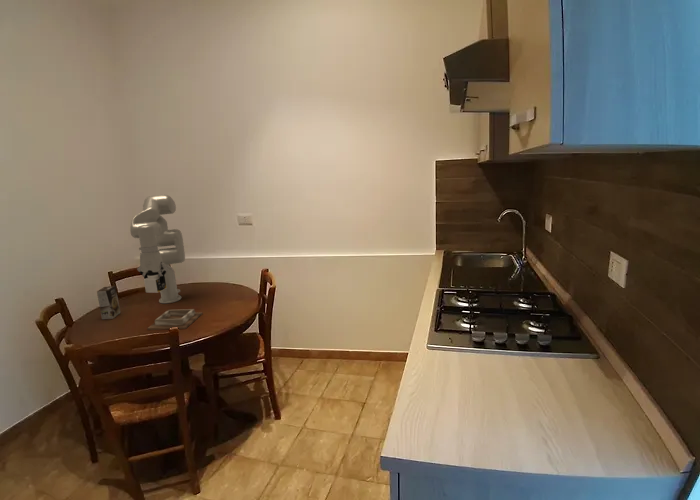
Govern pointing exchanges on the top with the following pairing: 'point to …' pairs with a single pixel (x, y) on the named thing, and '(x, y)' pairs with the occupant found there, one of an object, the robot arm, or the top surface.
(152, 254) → the robot arm
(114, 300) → the coffee box
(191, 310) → the collar board
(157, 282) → the medicine bottle
